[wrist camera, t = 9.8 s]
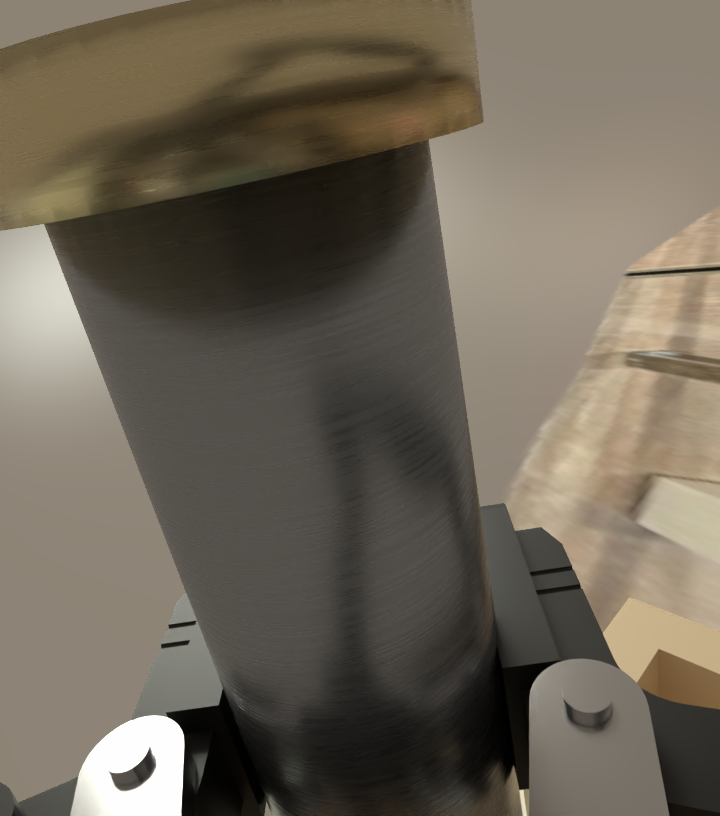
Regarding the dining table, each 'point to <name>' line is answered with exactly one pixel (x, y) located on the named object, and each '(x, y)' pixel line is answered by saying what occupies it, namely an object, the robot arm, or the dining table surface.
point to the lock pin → (287, 366)
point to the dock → (663, 657)
